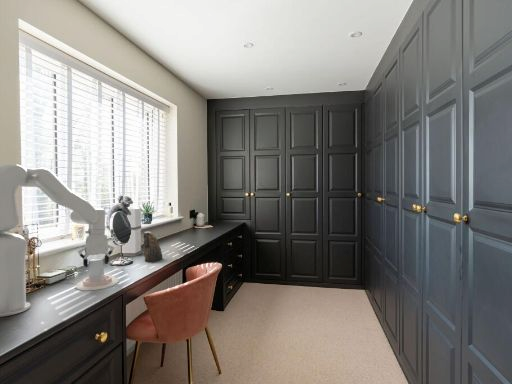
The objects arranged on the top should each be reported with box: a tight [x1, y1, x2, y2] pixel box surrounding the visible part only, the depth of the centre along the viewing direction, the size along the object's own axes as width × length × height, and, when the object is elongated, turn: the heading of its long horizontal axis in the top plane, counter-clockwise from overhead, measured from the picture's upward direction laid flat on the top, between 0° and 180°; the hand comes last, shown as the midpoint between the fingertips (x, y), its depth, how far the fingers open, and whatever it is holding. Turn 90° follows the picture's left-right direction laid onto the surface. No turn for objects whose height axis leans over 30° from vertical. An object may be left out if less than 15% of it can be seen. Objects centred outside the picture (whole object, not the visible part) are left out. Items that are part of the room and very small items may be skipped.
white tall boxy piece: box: [122, 207, 142, 257], centre depth 227 cm, size 11×11×35 cm
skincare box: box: [88, 258, 105, 282], centre depth 156 cm, size 6×4×12 cm
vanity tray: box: [74, 274, 120, 292], centre depth 157 cm, size 20×20×3 cm
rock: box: [142, 230, 164, 263], centre depth 209 cm, size 13×13×20 cm
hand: (96, 265), depth 156 cm, fingers open, 9 cm apart
